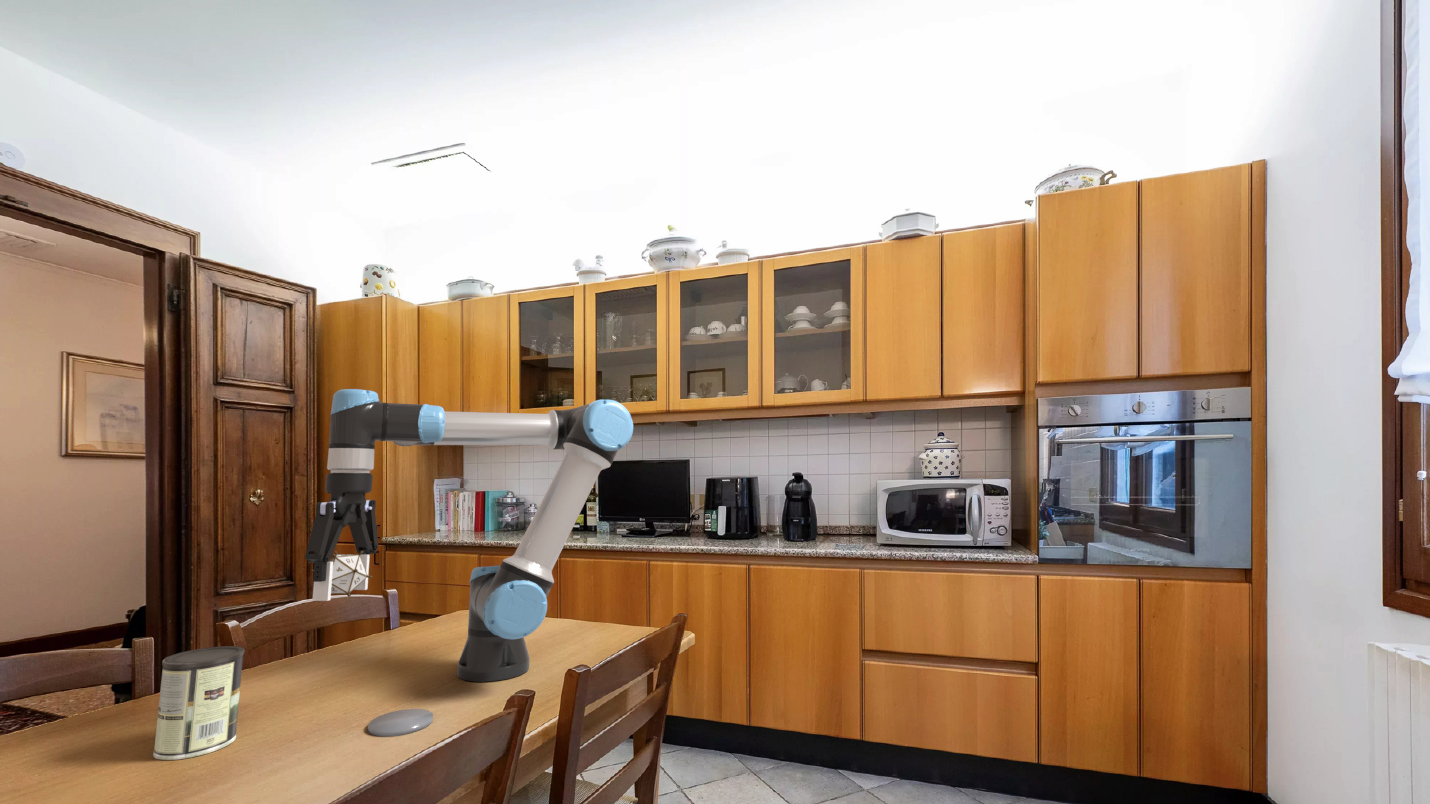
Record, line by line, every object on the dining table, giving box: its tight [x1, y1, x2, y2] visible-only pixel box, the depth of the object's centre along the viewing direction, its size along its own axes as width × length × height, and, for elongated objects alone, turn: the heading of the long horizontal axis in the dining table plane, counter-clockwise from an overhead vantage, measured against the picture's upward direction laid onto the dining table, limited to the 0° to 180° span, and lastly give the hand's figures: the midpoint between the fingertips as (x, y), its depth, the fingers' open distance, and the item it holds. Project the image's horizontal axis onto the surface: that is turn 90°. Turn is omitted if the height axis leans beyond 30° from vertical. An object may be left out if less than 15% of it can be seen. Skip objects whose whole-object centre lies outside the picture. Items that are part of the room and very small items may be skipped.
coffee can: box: [152, 645, 246, 761], centre depth 98 cm, size 10×10×14 cm
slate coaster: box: [367, 708, 434, 737], centre depth 106 cm, size 10×10×1 cm
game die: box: [311, 550, 373, 598], centre depth 112 cm, size 9×8×10 cm
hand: (341, 594), depth 111 cm, fingers closed on game die, 10 cm apart
